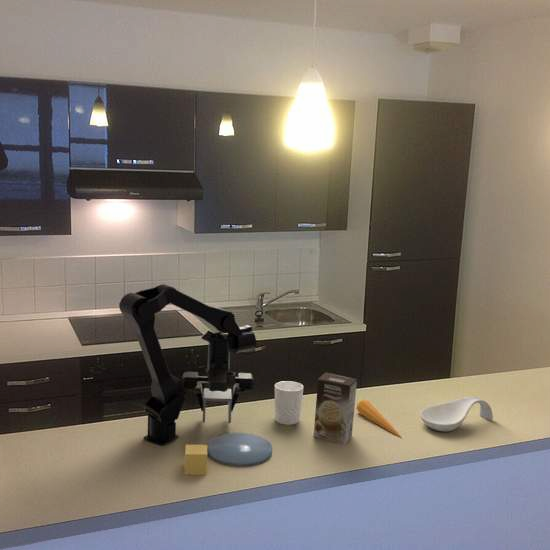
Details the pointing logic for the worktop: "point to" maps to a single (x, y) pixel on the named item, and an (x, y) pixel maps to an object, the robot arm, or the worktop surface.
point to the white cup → (288, 402)
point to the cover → (217, 396)
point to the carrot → (374, 416)
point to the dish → (239, 449)
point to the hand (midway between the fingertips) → (216, 410)
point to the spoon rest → (453, 413)
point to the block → (196, 459)
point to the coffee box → (335, 407)
